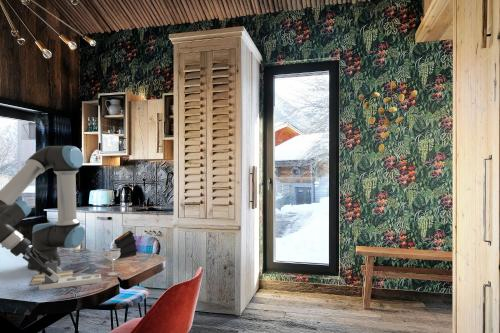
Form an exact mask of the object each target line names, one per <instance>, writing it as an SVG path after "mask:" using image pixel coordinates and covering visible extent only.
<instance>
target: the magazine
mask: <svg viewBox="0 0 500 333" xmlns="http://www.w3.org/2000/svg"><path fill="white" fill-rule="evenodd" d="M136 242H137V240H136V239H135V236H134V232H133V231H132V230H128V231H127V232H125V233H124V234H122V235H120V236H119V237H117V238H116V239H114V242H113V243H114V244H115V245H116V248H119V249H120V253H121V254H120V257H119V258H118V259H122V258H129V257H133V256H136V255H137V252H138V249H137V244H136Z"/></svg>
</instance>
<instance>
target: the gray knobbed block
mask: <svg viewBox="0 0 500 333" xmlns="http://www.w3.org/2000/svg"><path fill="white" fill-rule="evenodd" d="M45 266H46V267H47V268H50V269H51V270H52V271H53V272H55V273H56V274H57V267H58V266H57V261H53V260H50V261H47V262H46V263H45ZM51 283H57V281H56V282H54V281H52V280H51V279H50V278H49V277H47V276H46V275H45V282H44V284H51Z"/></svg>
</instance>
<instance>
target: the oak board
mask: <svg viewBox="0 0 500 333" xmlns="http://www.w3.org/2000/svg"><path fill="white" fill-rule="evenodd" d="M73 272H74V270H73V269H70V270H62V271H61V272H60V273H59V274H58V275H59V276H60V278H68V277H73ZM60 278H59V279H60ZM43 280H45V274H43V273H42V274H39V273H35V274H34V276H33V278H32V280H31V282H30V287H31V286H39V285H40V282H41V281H43Z"/></svg>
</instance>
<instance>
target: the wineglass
mask: <svg viewBox="0 0 500 333" xmlns="http://www.w3.org/2000/svg"><path fill="white" fill-rule="evenodd" d="M105 251H106V253H105V256H106V258H107V259H108V260H110V261H111V262H112V264H111V265H112V266H111V267H112V271H111V272H109V273H107V275H108V276H116V275H118V274H119V272H116V271H114V270H115V269H114V266H115V261H116V260H117V259H120V258H119V257H120V254H121V253H120V249H119V248H117V247H115V248H114V247H113V248H107V249H105Z"/></svg>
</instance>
